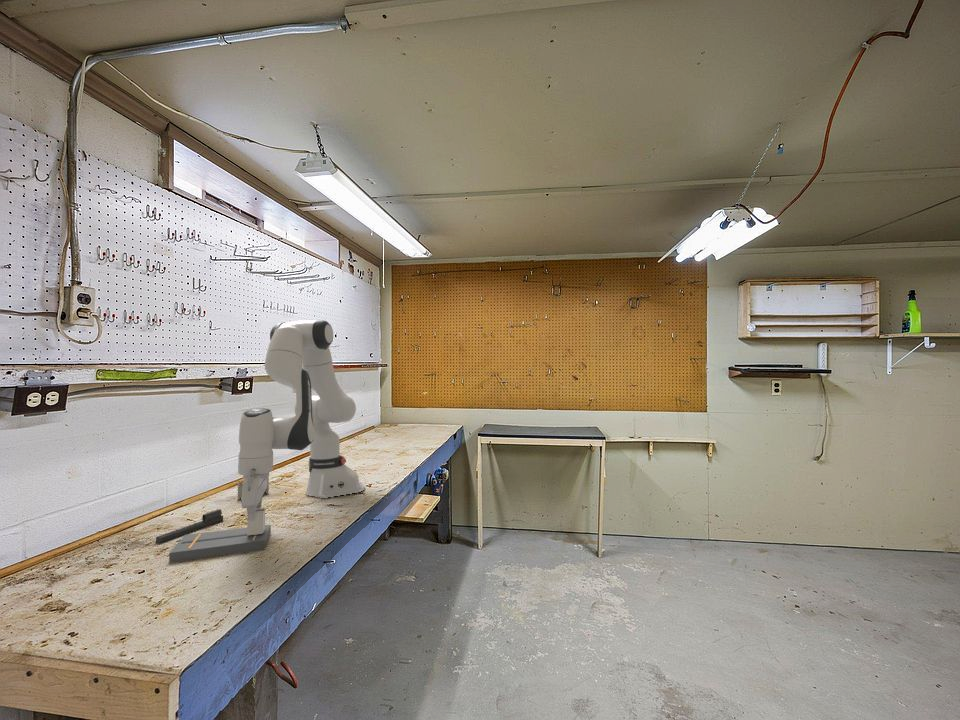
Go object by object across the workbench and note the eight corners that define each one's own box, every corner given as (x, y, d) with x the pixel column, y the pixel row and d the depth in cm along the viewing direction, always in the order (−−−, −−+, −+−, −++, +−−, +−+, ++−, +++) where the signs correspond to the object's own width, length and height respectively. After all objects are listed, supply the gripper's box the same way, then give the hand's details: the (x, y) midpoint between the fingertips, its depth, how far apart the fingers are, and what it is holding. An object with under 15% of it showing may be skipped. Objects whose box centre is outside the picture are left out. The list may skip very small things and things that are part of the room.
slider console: (270, 532, 124) (270, 524, 124) (264, 549, 113) (264, 539, 113) (184, 543, 117) (184, 534, 117) (169, 562, 105) (169, 552, 105)
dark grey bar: (161, 546, 116) (161, 531, 117) (155, 544, 117) (155, 529, 118) (224, 522, 134) (224, 509, 134) (219, 521, 135) (219, 508, 135)
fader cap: (265, 528, 120) (265, 507, 120) (263, 533, 116) (263, 511, 116) (249, 530, 119) (249, 508, 119) (246, 535, 115) (247, 513, 115)
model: (268, 494, 164) (268, 475, 164) (243, 502, 154) (243, 481, 154) (263, 493, 165) (263, 474, 165) (237, 501, 156) (237, 480, 156)
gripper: (262, 473, 109) (261, 525, 109) (272, 458, 128) (272, 502, 128) (235, 475, 107) (234, 528, 106) (250, 459, 126) (249, 504, 126)
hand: (254, 514), depth 117 cm, fingers open, 8 cm apart
